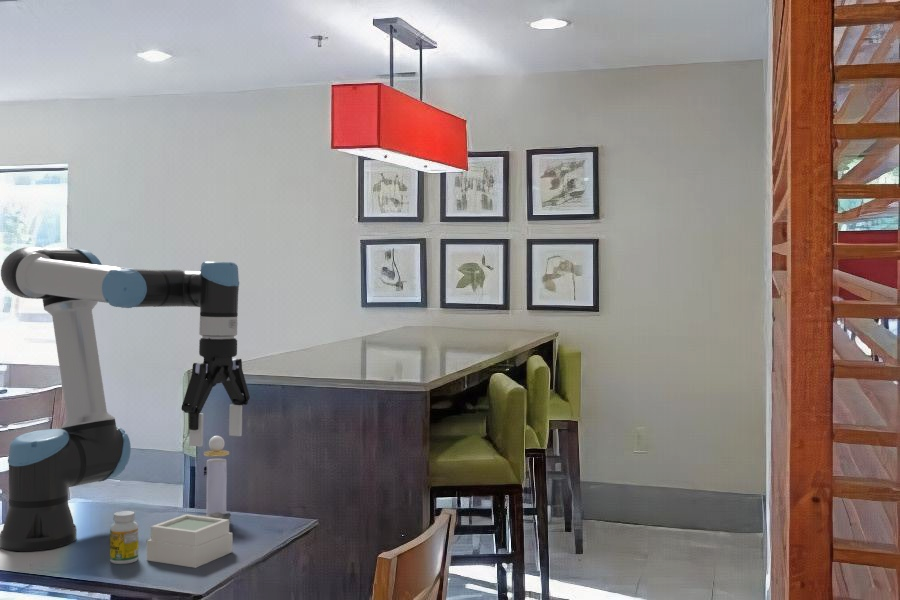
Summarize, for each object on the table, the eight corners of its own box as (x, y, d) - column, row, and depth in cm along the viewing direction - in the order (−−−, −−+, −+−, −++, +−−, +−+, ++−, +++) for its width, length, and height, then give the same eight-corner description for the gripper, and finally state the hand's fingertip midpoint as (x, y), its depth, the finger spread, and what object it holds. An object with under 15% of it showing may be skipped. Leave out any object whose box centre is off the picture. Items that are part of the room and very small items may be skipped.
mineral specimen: (234, 538, 208) (236, 519, 208) (179, 540, 203) (181, 520, 203) (228, 529, 214) (230, 511, 214) (175, 531, 209) (176, 512, 209)
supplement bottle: (143, 560, 187) (143, 513, 187) (117, 566, 183) (117, 517, 183) (130, 555, 190) (130, 508, 190) (105, 560, 187) (105, 512, 187)
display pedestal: (146, 560, 187) (147, 526, 187) (185, 545, 198) (185, 513, 198) (195, 567, 182) (195, 533, 182) (232, 551, 193) (232, 519, 193)
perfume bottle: (234, 519, 220) (234, 435, 220) (216, 524, 215) (217, 438, 215) (215, 516, 223) (216, 433, 223) (198, 521, 218) (198, 436, 218)
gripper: (196, 341, 177) (194, 452, 178) (267, 335, 200) (265, 433, 201) (164, 339, 180) (161, 448, 180) (237, 333, 203) (235, 430, 204)
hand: (216, 440), depth 191 cm, fingers open, 13 cm apart
